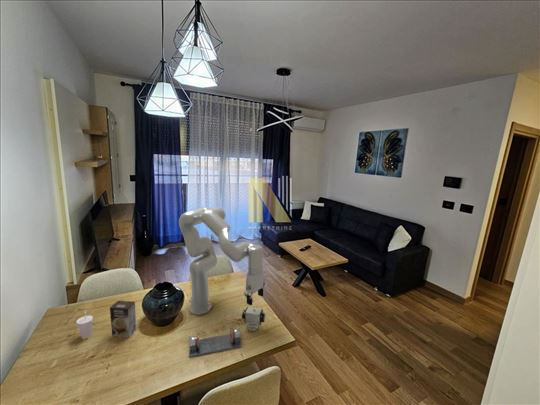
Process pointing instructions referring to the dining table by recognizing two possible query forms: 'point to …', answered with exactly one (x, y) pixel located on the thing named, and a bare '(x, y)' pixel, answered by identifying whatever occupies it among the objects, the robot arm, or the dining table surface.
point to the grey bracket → (214, 343)
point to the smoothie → (85, 325)
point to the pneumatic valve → (253, 317)
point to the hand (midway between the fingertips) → (255, 299)
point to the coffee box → (123, 318)
